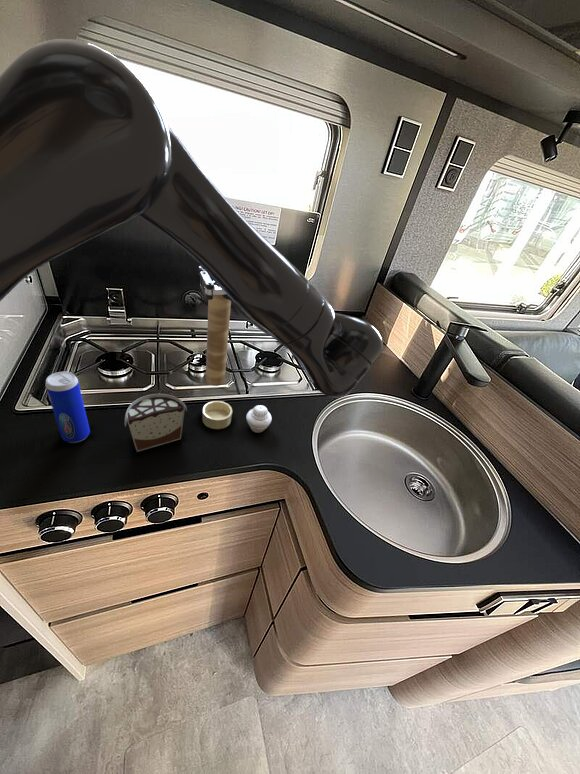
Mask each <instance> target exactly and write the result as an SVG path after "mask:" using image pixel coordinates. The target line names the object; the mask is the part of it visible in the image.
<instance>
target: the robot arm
mask: <svg viewBox="0 0 580 774" xmlns="http://www.w3.org/2000/svg"><path fill="white" fill-rule="evenodd" d="M137 217H139V218H140V219H143V220H144V221H145V222H147V223H149V224H150V225H152V226H153V227H154V228H156V229H157V230H159V231H160V232H161V233H163V234H164V235H165V236H166V237H168V238H169V239H170V240H172V241H173V242H174V243H175V244H176V245H178V246H179V247H180V248H181V249H182V250H183V251H185V252H186V254H188V256H190V257H191V258H192V259H193V260H194V261H195V262H196V264H198V265H199V266H198V276H199V277H200V278H199V279H200V280H199V288H200V289H201V292H202V294H203V296H204V298H205V300H212V299H213V296H215V295H222V296H223V297H224V298H225V299H228V300H230V301H231V304H232V305H233V307H234V309H235V310H236V312H237V313H238V314H239V315H240V316H242V317H243V318H244V319H245V320H246V321H248V322H249V323H250V324H252V325H253V326H254V327H256V328H257V329H258V330H260V331H261V332H263V333H264V334H266V335H268V336H270V337H272V339H274V340H275V341H276V342H278V343H279V344H281V345H282V346H283V347H285V348H286V349H287V350H289V352H290V353H291V354H292V355H293V356H294V358H295V359H296V360H297V362H298V363H299V365H300V367H301V368H302V370H303V371H304V374H305V375H306V377H307V378H308V380H309V381H310V383H311V384H312V385H313V386H314V387H315V389H317V390H318V391H319V392H320V393H321V394H323V395H325V396H326V397H330V398H336V399H337V398H338V399H339V398H343V397H345V396H347V395H349V394H350V393H351V392H352V391H353V390H354V389H355V387H356V386H357V385H358V384H359V382H360V381H361V380H362V379H363V377H364V376H365V375H366V373H368V371H369V370H370V369H371V367H372V366H373V365H374V364H375V362H377V360H378V359H379V358H380V356H381V354H382V352H383V349H384V342H383V338H382V336H381V334H380V332H379V331H378V329H377V328H376V327H374V326H373V325H372V324H371V323H369V322H368V321H365V320H363V319H361V318H358V317H355V316H351V315H348V314H341V313H336V312H335V310H334V308H333V306H332V305H331V303H330V302H329V301H328V300H327V298H325V296H324V295H322V293H321V292H320V291H319V290H318V288H316V287H315V286H314V285H313V284H312V282H310V280H308V278H306V276H304V274H303V273H302V272H301V271H300V270H299V269H298V268H297V267H296V266H295V265H294V264H292V262H291V261H289V260H288V259H287V257H285V255H283V254H282V253H281V252H280V251H279V250H278V249H277V248H276V247H275V246H274V245H272V244H271V242H270V241H268V239H266V237H264V236H263V235H262V234H261V233H260V232H259V231H258V230H257V229H256V228H255V227H254V226H253V225H252V224H251V223H250V222H249V221H248V220H247V219H246V218H245V217H244V216H243V215H242V214H241V213H240V212H239V211H238V210H237V209H236V208H235V206H233V204H231V202H230V201H229V200H228V199H227V198H226V197H225V196H224V195H223V194H222V193H221V191H220V190H219V189H218V188H217V187H216V185H215V184H214V183H213V182H212V181H211V179H210V178H209V177H208V176H207V175H206V173H205V172H204V171H203V170H202V169H201V168H200V166H199V165H198V163H197V162H196V161H195V159H194V158H193V157H192V155H191V154H190V152H189V151H188V150H187V148H186V147H185V146H184V144H183V142H182V141H181V140H180V138H179V137H178V135H177V134H176V133H175V131H174V130H173V128H172V127H171V126H170V124H169V123H168V120H166V118H165V115H164V112H163V110H162V109H161V106H160V105H159V103H158V101H157V99H156V98H155V96H154V94H153V93H152V92H151V90H150V89H149V87H148V86H147V85H146V84H145V82H144V81H143V80H142V78H140V77H139V76H138V75H137V74H136V73H135V72H134V71H133V70H132V69H131V67H129V66H128V65H127V64H126V63H124V62H123V61H121V60H120V59H119V58H117V57H116V56H114V55H113V54H111V52H108V51H106V50H104V49H102V48H100V47H98V46H96V45H95V44H91V43H88V42H85V41H81V40H79V39H71V38H70V39H69V38H53V39H49V40H45V41H40V42H37V43H35V44H34V45H32V46H30V47H29V48H27V49H25V50H24V51H22V52H21V53H20V54H19V55H17V56H16V57H15V58H14V59H13V60H12V61H11V62H10V63H9V64H8V65H7V66H6V68H5V69H4V70H3V71H2V72H1V74H0V302H2V300H3V299H4V298H6V296H7V295H8V294H10V292H12V290H14V288H15V287H17V286H18V285H19V284H20V283H21V282H22V281H23V280H24V279H25V278H27V277H28V276H30V274H32V273H34V272H35V271H37V270H38V269H40V268H41V267H43V266H44V265H46V264H47V263H50V262H51V261H53V260H54V259H57V258H58V257H60V256H62V255H65V254H66V253H68V252H69V251H71V250H74V249H75V248H77V247H79V246H81V245H83V244H85V243H86V242H89V241H90V240H93V239H94V238H97V237H99V236H100V235H102V234H104V233H106V232H109V231H111V230H113V229H115V228H117V227H119V226H121V225H123V224H125V223H127V222H130V221H131V220H133V219H135V218H137ZM215 281H216V282H217V283H216V282H215Z"/></svg>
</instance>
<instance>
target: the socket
mask: <svg viewBox="0 0 580 774" xmlns="http://www.w3.org/2000/svg"><path fill="white" fill-rule="evenodd" d="M201 411H202V413H201V414H202V415H201V417H202V418H201V419H202V423H203V425H204V426H205V427H206V428H209V429H213V430H221V429H225V428H227V427H228V426H230V425H231V422H232V419H233V408H232V406H231V405H230V404H229V403H227V402H225V401H221V400H212V401H209V402H207V403H205V404H204V405H203V407H202V409H201Z"/></svg>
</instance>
